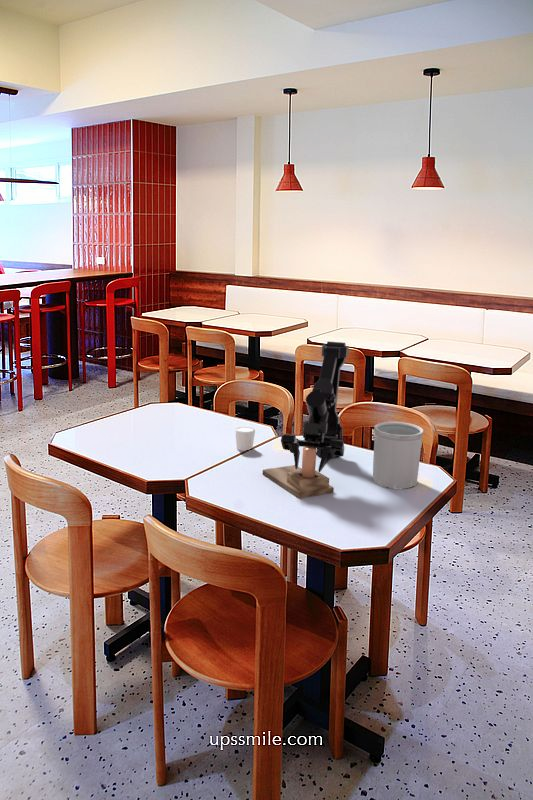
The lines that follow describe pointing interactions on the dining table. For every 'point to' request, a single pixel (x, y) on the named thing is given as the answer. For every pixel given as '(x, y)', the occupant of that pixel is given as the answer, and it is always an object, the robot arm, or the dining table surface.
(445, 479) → the dining table surface
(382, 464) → the utensil holder
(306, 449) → the plug
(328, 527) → the dining table surface
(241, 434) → the white cup
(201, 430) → the dining table surface
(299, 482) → the wooden socket base
